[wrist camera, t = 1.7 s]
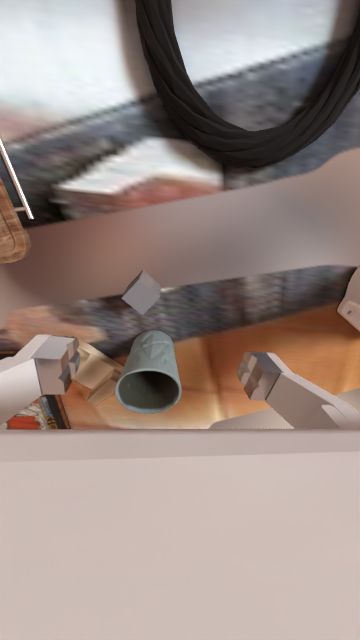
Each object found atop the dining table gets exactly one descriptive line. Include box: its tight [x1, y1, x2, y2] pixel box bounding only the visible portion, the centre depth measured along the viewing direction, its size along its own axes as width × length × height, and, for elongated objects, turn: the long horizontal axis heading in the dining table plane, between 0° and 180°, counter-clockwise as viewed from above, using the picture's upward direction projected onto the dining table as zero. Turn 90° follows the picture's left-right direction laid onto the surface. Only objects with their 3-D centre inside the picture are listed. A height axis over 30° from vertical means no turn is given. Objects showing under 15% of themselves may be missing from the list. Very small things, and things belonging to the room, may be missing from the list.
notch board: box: [71, 336, 124, 406], centre depth 38 cm, size 14×8×5 cm, turn 44°
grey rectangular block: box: [122, 270, 160, 315], centre depth 30 cm, size 4×4×6 cm
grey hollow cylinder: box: [115, 330, 182, 414], centre depth 34 cm, size 10×10×12 cm
